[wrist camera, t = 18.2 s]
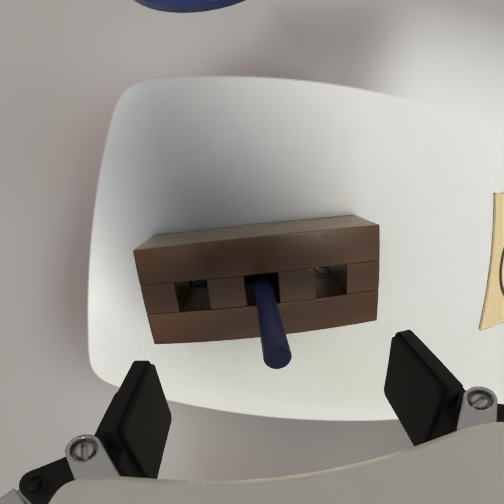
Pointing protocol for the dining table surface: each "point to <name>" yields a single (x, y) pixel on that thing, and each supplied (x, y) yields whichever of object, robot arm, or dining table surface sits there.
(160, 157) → the dining table surface
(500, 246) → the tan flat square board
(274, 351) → the pen
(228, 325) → the pen stand
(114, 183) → the dining table surface
